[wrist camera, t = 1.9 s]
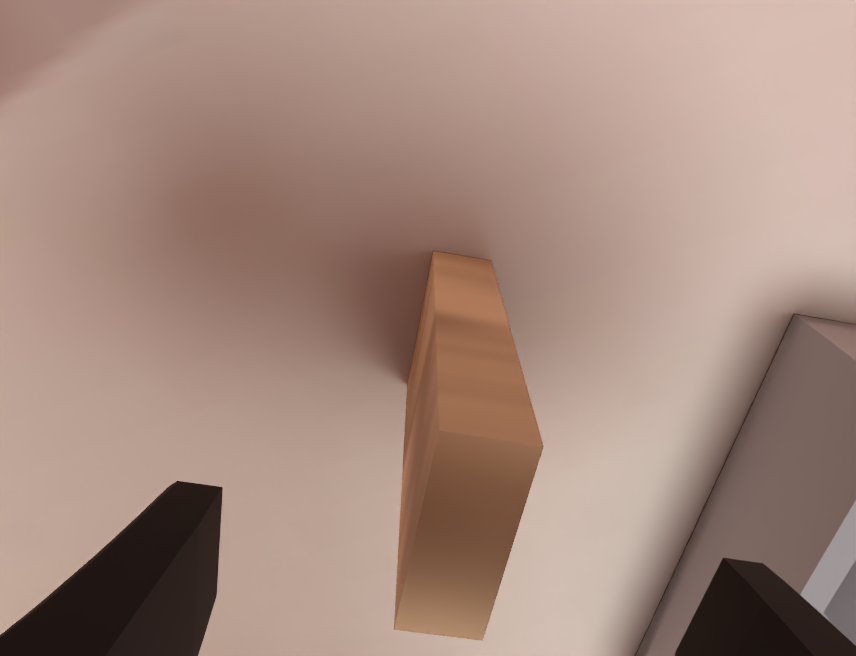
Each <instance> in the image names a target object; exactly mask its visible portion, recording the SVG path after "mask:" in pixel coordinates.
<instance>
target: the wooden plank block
mask: <svg viewBox="0 0 856 656" xmlns="http://www.w3.org/2000/svg"><path fill="white" fill-rule="evenodd" d="M542 449H543V443H542V439H541V436H540V432H539V429H538V425H537V422H536V418H535V415H534V411H533V407H532V404H531V400H530V397H529V393H528V390H527V386H526V383H525V379H524V376H523V372H522V369H521V365H520V362H519V358H518V354H517V351H516V347H515V344H514V340H513V337H512V333H511V330H510V326H509V323H508V319H507V316H506V312H505V308H504V305H503V301H502V298H501V294H500V291H499V287H498V284H497V280H496V277H495V273H494V270H493V266H492V263H491V261H489V260H483V259H478V258H472V257H466V256H460V255H455V254H449V253H443V252H437V251H433V255H432V260H431V265H430V271H429V276H428V281H427V286H426V291H425V296H424V302H423V307H422V312H421V317H420V322H419V327H418V332H417V338H416V343H415V348H414V353H413V358H412V363H411V368H410V374H409V379H408V384H407V399H406V417H405V436H404V454H403V473H402V491H401V510H400V529H399V547H398V566H397V584H396V603H395V621H394V629H395V630H403V631H411V632H419V633H427V634H435V635H443V636H451V637H459V638H467V639H475V640H483V637H484V634H485V631H486V628H487V625H488V621H489V618H490V615H491V612H492V609H493V605H494V602H495V599H496V596H497V593H498V589H499V586H500V583H501V580H502V577H503V574H504V570H505V567H506V564H507V561H508V558H509V554H510V551H511V548H512V545H513V542H514V538H515V535H516V532H517V529H518V526H519V522H520V519H521V516H522V513H523V510H524V507H525V503H526V500H527V497H528V494H529V491H530V487H531V484H532V481H533V478H534V475H535V471H536V468H537V465H538V462H539V459H540V456H541V452H542Z"/></svg>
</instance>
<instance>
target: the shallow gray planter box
mask: <svg viewBox="0 0 856 656" xmlns="http://www.w3.org/2000/svg"><path fill="white" fill-rule="evenodd" d="M723 558H730V559H737V560H744V561H751V562H758V563H763V564H764V565H766V566H767V567H768V568H769V569H771V570H772V571H773V572H774V573H775V574H777V575H778V576H779V577H780V578H781V579H783V580H784V581H785V582H786V583H787V584H788V585H790V586H791V587H792V588H793V589H794V590H795V591H796V592H797V593H799V594H800V595H801V596H802V597H803V598H804V599H805V600H806V601H807V602H809V603H810V604H811V605H812V606H813V607H814V608H815V609H816V610H817V611H818V612H820V613H821V614H822V615H823V616H824V617H825V618H826V619H827V620H828V621H829V622H831V623H832V624H833V625H834V626H835V627H836V628H837V629H838V630H839V631H840V632H841V633H842V634H844V635H845V636H846V637H847V638H848V639H849V640H850V641H851V642H852V643H853V644H854V645H856V325H855V324H850V323H844V322H838V321H832V320H827V319H821V318H815V317H809V316H804V315H798V314H794V316H793V318H792V320H791V322H790V325H789V327H788V329H787V331H786V333H785V335H784V337H783V340H782V342H781V344H780V346H779V348H778V350H777V352H776V355H775V357H774V359H773V361H772V363H771V365H770V368H769V370H768V372H767V374H766V376H765V378H764V380H763V383H762V385H761V387H760V389H759V391H758V393H757V396H756V398H755V400H754V402H753V404H752V406H751V408H750V411H749V413H748V415H747V417H746V419H745V421H744V423H743V426H742V428H741V430H740V432H739V434H738V436H737V439H736V441H735V443H734V445H733V447H732V449H731V451H730V454H729V456H728V458H727V460H726V462H725V464H724V466H723V469H722V471H721V473H720V475H719V477H718V479H717V482H716V484H715V486H714V488H713V490H712V492H711V494H710V497H709V499H708V501H707V503H706V505H705V507H704V509H703V512H702V514H701V516H700V518H699V520H698V522H697V525H696V527H695V529H694V531H693V533H692V535H691V537H690V540H689V542H688V544H687V546H686V548H685V550H684V553H683V555H682V557H681V559H680V561H679V563H678V565H677V568H676V570H675V572H674V574H673V576H672V578H671V580H670V583H669V585H668V587H667V589H666V591H665V593H664V596H663V598H662V600H661V602H660V604H659V606H658V608H657V611H656V613H655V615H654V617H653V619H652V621H651V623H650V626H649V628H648V630H647V632H646V634H645V636H644V639H643V641H642V643H641V645H640V647H639V649H638V651H637V654H636V656H675V652H676V650H677V648H678V646H679V644H680V642H681V640H682V638H683V636H684V634H685V632H686V630H687V628H688V626H689V624H690V622H691V620H692V618H693V616H694V614H695V612H696V610H697V608H698V606H699V604H700V602H701V600H702V598H703V596H704V594H705V592H706V590H707V588H708V586H709V584H710V582H711V580H712V578H713V576H714V574H715V572H716V570H717V569H718V567H719V565H720V563H721V561H722V559H723Z"/></svg>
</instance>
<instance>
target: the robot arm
mask: <svg viewBox="0 0 856 656" xmlns="http://www.w3.org/2000/svg"><path fill="white" fill-rule="evenodd" d="M222 488H223V487H217V486H210V485H203V484H195V483H188V482H181V481H177V482H175V483H174V484H172V485H170V486H169V487H168V488H167V489H166V490H165V491H164V492H163V493H162V494H161V495H160V496H158V497H157V498H156V499H155V500H154V501H153V502H152V503H151V504H150V505H149V506H148V507H147V508H146V509H145V510H144V511H143V512H142V513H141V514H140V515H139V516H138V517H137V518H135V519H134V520H133V521H132V522H131V523H130V524H129V525H128V526H127V527H126V528H125V529H124V530H123V531H122V532H120V533H119V534H118V535H117V536H116V537H115V538H114V539H113V540H112V541H111V542H109V543H108V544H107V545H106V546H105V547H104V548H103V549H102V550H101V551H100V552H99V553H97V554H96V555H95V556H94V557H93V558H92V559H91V560H89V561H88V562H87V563H86V564H85V565H84V566H82V567H81V568H80V569H79V570H78V571H77V572H76V573H74V574H73V575H72V576H71V577H70V578H69V579H68V580H66V581H65V582H64V583H63V584H62V585H61V586H59V587H58V588H57V589H56V590H55V591H54V592H53V593H51V594H50V595H49V596H48V597H47V598H46V599H44V600H43V601H42V602H41V603H40V604H38V605H37V606H36V607H35V608H34V609H32V610H31V611H30V612H29V613H27V614H26V615H25V616H24V617H22V618H21V619H20V620H19V621H17V622H16V623H15V624H14V625H12V626H11V627H10V628H9V629H7V630H6V631H5V632H4V633H2V634H1V635H0V656H198V654H199V650H200V647H201V644H202V641H203V638H204V635H205V631H206V628H207V625H208V622H209V618H210V615H211V612H212V608H213V605H214V602H215V599H216V595H217V577H218V559H219V542H220V524H221V506H222ZM675 656H856V645H854V644H853V643H852V642H851V641H850V640H849V639H848V638H847V637H846V636H845V635H844V634H842V633H841V632H840V631H839V630H838V629H837V628H836V627H835V626H834V625H833V624H832V623H831V622H829V621H828V620H827V619H826V618H825V617H824V616H823V615H822V614H821V613H820V612H818V611H817V610H816V609H815V608H814V607H813V606H812V605H811V604H810V603H809V602H807V601H806V600H805V599H804V598H803V597H802V596H801V595H800V594H799V593H797V592H796V591H795V590H794V589H793V588H792V587H791V586H790V585H788V584H787V583H786V582H785V581H784V580H783V579H781V578H780V577H779V576H778V575H777V574H775V573H774V572H773V571H772V570H771V569H769V568H768V567H767V566H766V565H764V564H763V563H758V562H751V561H744V560H737V559H730V558H723V559H722V561H721V563H720V565H719V567H718V569H717V570H716V572H715V574H714V576H713V578H712V580H711V582H710V584H709V586H708V588H707V590H706V592H705V594H704V596H703V598H702V600H701V602H700V604H699V606H698V608H697V610H696V612H695V614H694V616H693V618H692V620H691V622H690V624H689V626H688V628H687V630H686V632H685V634H684V636H683V638H682V640H681V642H680V644H679V646H678V648H677V650H676V652H675Z"/></svg>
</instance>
